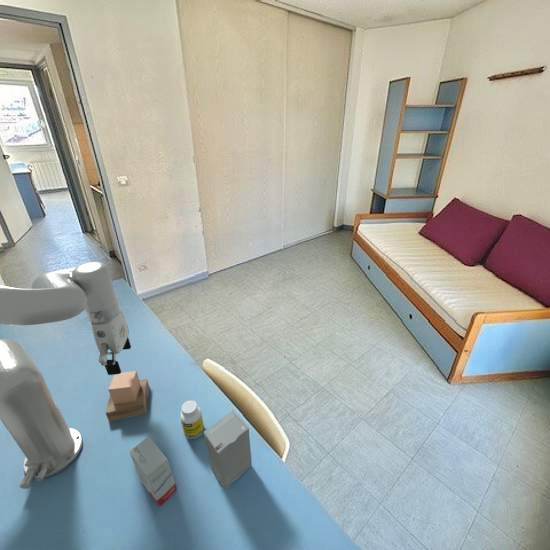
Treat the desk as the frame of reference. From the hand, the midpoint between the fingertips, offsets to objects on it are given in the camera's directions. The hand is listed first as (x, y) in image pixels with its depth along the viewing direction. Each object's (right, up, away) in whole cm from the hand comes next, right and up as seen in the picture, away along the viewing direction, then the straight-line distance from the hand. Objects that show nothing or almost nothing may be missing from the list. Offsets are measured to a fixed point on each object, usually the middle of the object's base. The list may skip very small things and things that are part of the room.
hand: (120, 360), depth 85 cm
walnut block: (-1, -15, +7) cm, 17 cm away
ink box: (+16, -26, -13) cm, 33 cm away
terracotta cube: (-1, -12, +5) cm, 13 cm away
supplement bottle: (+21, -19, -1) cm, 28 cm away
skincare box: (+33, -24, -10) cm, 42 cm away
